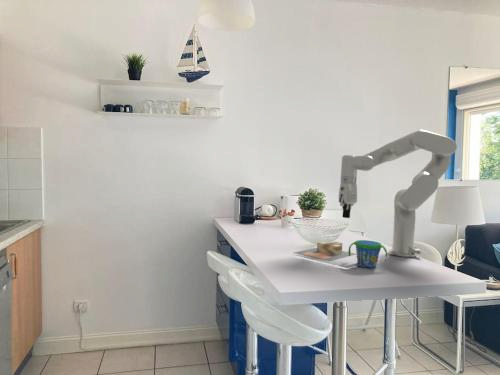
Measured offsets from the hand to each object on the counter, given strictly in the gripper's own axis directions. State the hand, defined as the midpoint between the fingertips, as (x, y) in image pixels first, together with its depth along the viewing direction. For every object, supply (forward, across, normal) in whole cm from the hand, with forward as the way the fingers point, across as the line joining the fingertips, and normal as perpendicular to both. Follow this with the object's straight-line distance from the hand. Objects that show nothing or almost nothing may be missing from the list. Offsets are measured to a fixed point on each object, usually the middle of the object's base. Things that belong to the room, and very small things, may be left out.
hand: (346, 217), depth 198 cm
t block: (+16, -11, 0) cm, 19 cm away
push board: (+16, -17, 0) cm, 24 cm away
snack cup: (+16, -20, -23) cm, 35 cm away
